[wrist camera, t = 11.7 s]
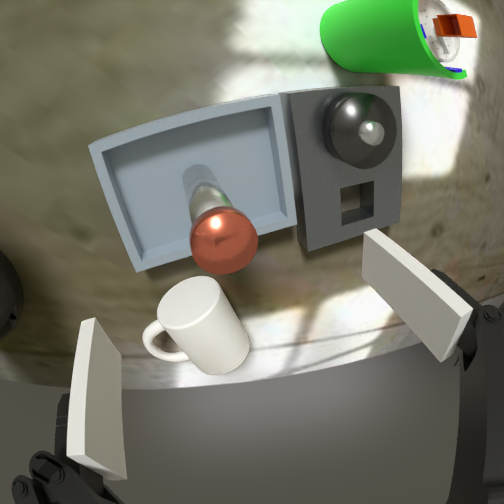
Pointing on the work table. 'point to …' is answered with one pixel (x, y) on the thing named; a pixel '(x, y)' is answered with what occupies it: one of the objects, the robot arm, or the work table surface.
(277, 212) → the tray
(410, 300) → the robot arm
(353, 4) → the green-shelled ribbed roller
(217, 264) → the pin
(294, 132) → the grey block with dome
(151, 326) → the mug
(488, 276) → the work table surface
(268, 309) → the work table surface
